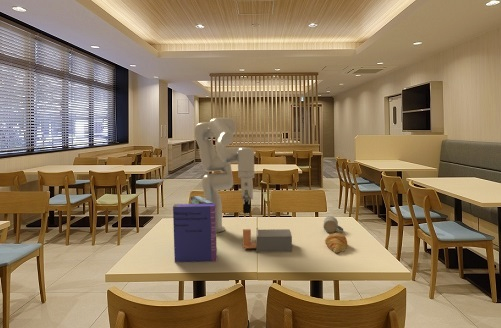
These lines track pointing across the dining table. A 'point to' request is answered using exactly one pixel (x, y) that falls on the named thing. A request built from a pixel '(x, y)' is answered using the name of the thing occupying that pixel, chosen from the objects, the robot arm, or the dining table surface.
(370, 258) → the dining table surface
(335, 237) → the croissant
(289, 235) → the grey boxy piece
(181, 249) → the cereal box
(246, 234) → the orange stepped block
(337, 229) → the ceramic mug
